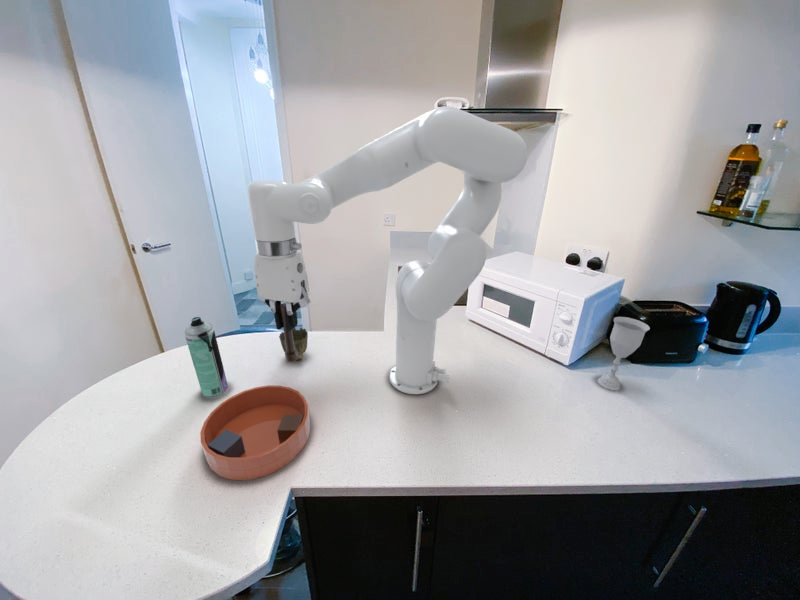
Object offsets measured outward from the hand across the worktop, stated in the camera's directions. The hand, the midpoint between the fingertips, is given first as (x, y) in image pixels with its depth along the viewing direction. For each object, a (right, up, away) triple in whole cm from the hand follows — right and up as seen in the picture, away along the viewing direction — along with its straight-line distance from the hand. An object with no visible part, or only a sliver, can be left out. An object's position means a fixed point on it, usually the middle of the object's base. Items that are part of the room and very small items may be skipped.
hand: (287, 326), depth 70 cm
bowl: (-3, -22, -6) cm, 23 cm away
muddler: (0, -8, +4) cm, 9 cm away
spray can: (-19, -16, +6) cm, 26 cm away
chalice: (+80, -16, +13) cm, 83 cm away
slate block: (-7, -23, -11) cm, 27 cm away
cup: (-4, -11, +19) cm, 23 cm away
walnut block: (+4, -22, -7) cm, 23 cm away
